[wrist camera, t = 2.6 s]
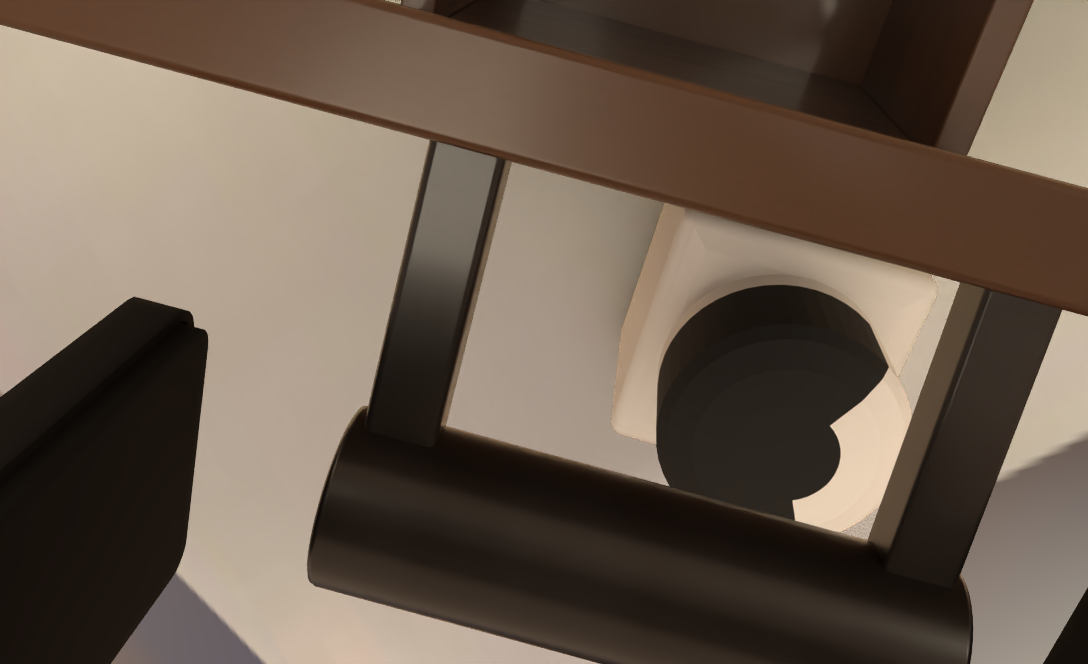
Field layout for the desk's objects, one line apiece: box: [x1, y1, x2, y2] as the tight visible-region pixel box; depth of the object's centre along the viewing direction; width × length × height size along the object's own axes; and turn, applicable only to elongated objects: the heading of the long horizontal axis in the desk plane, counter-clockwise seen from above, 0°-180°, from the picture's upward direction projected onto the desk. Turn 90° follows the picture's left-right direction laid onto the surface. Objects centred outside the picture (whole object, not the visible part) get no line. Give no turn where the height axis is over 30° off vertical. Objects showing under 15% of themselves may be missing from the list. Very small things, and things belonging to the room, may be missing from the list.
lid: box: [0, 0, 1088, 664], centre depth 15 cm, size 16×13×5 cm
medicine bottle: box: [611, 203, 938, 532], centre depth 29 cm, size 7×7×12 cm
